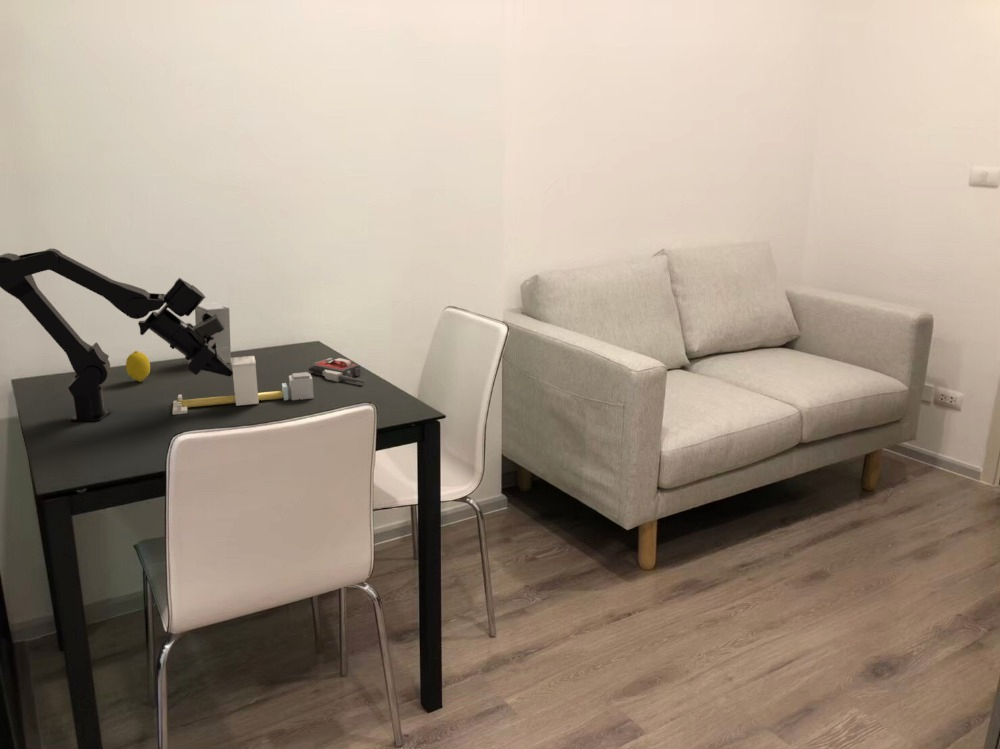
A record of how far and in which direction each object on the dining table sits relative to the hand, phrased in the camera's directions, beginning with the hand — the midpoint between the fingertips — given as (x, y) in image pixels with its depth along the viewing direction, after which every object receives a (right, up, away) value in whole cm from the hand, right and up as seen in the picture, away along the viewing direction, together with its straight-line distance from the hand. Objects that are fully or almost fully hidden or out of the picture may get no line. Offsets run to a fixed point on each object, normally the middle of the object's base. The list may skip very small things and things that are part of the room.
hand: (231, 374), depth 191 cm
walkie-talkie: (+21, -1, +23) cm, 31 cm away
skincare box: (-16, +3, +37) cm, 40 cm away
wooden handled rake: (0, -7, +2) cm, 7 cm away
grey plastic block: (+14, -5, +6) cm, 16 cm away
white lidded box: (+3, -6, +3) cm, 7 cm away
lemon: (-29, -2, +19) cm, 34 cm away
